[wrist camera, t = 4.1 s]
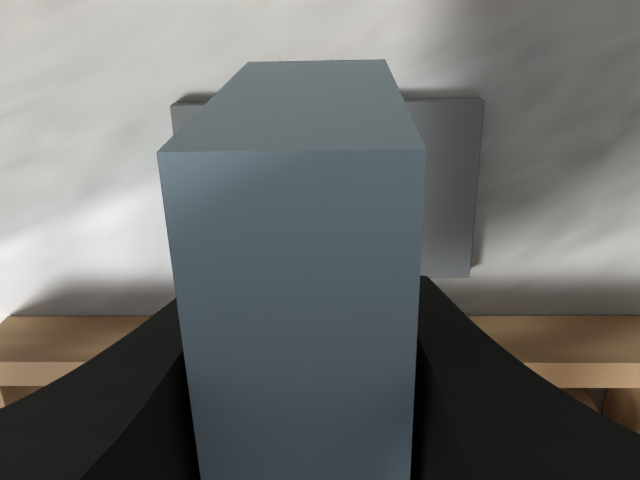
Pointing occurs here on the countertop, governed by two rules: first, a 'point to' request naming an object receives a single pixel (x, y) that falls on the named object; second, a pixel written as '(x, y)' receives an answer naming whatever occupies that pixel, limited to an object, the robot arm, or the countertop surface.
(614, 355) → the tray
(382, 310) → the pale blue block
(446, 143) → the mat
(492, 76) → the countertop surface
